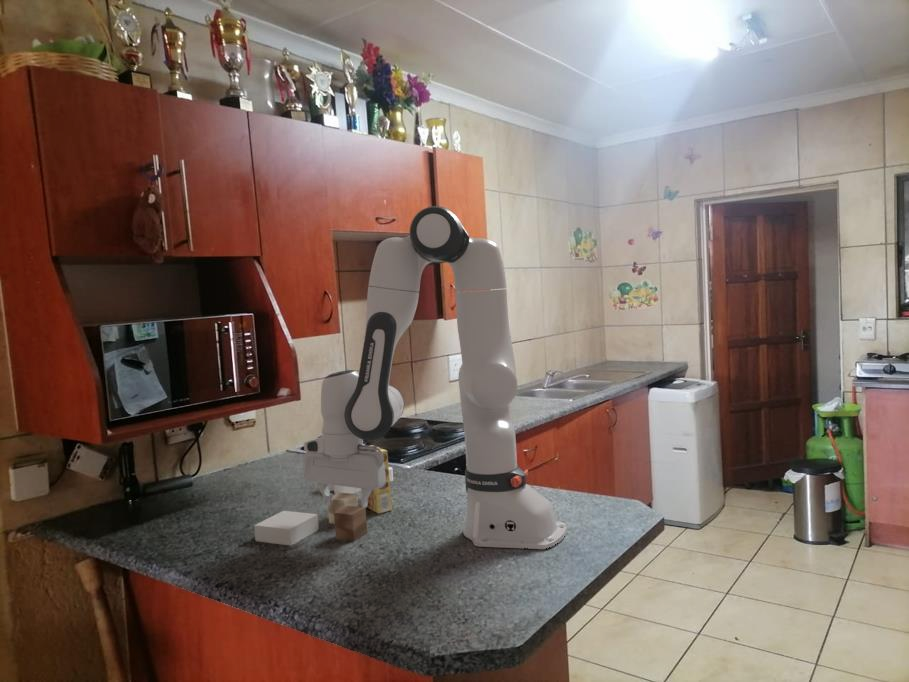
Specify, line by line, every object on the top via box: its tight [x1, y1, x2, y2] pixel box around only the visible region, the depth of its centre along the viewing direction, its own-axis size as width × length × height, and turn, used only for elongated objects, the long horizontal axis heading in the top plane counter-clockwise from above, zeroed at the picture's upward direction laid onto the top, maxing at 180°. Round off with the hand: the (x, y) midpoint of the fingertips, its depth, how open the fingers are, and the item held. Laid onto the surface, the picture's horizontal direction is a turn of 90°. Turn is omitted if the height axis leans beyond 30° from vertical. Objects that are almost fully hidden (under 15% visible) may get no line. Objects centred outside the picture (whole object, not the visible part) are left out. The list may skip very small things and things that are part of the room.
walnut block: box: [334, 506, 368, 542], centre depth 145 cm, size 5×5×6 cm
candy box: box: [366, 444, 393, 514], centre depth 163 cm, size 9×4×15 cm, turn 33°
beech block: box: [327, 493, 358, 525], centre depth 156 cm, size 5×5×6 cm
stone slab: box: [253, 510, 320, 546], centre depth 148 cm, size 10×10×4 cm
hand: (345, 504), depth 145 cm, fingers open, 8 cm apart
